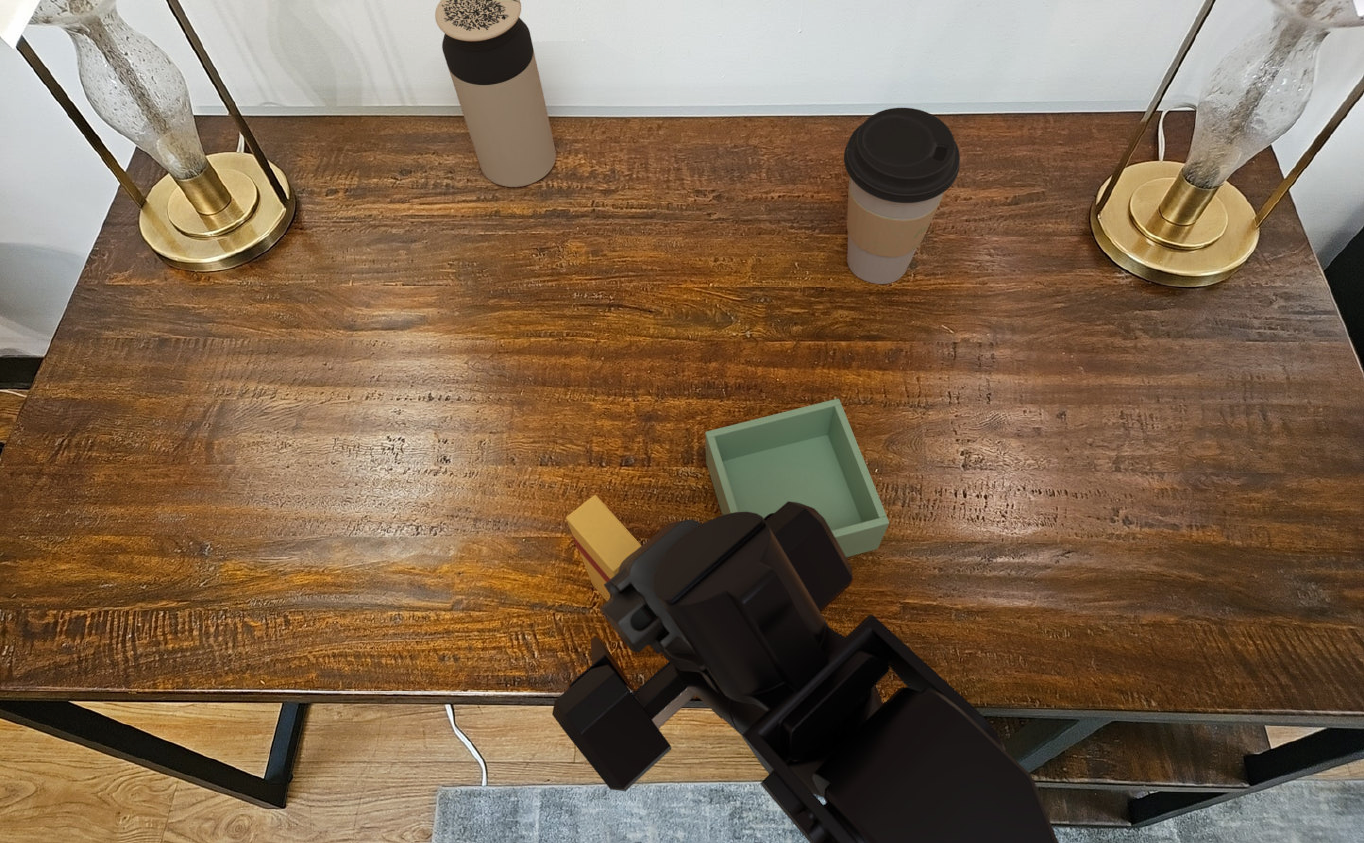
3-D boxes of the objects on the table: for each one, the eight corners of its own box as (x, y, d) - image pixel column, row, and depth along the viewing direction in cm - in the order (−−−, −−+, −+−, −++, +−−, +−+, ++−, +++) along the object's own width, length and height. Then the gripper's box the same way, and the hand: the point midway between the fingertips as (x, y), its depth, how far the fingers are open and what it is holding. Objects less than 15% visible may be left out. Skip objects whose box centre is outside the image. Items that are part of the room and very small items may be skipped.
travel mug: (518, 201, 90) (476, 52, 74) (464, 165, 93) (412, 14, 77) (572, 155, 93) (542, 2, 77) (518, 122, 95) (478, -33, 80)
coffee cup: (934, 296, 83) (976, 181, 69) (833, 302, 83) (855, 188, 70) (917, 219, 87) (953, 97, 74) (821, 224, 87) (839, 103, 74)
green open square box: (877, 549, 71) (889, 522, 66) (743, 585, 70) (745, 561, 65) (831, 430, 76) (838, 397, 71) (705, 462, 75) (704, 431, 70)
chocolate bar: (616, 563, 71) (595, 492, 59) (657, 610, 69) (644, 547, 57) (591, 584, 71) (564, 517, 58) (631, 631, 69) (612, 572, 56)
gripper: (842, 452, 44) (699, 414, 58) (542, 708, 39) (463, 598, 53) (929, 613, 48) (775, 541, 62) (667, 865, 43) (563, 725, 57)
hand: (651, 596), depth 58 cm, fingers open, 9 cm apart
